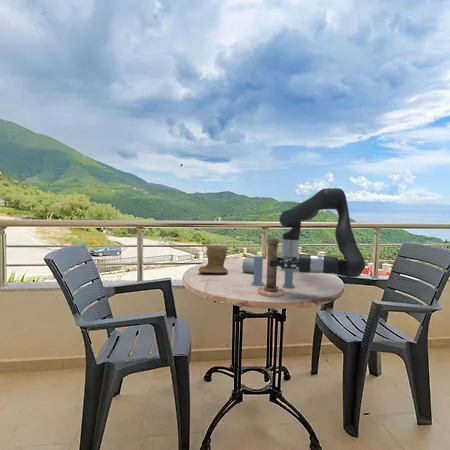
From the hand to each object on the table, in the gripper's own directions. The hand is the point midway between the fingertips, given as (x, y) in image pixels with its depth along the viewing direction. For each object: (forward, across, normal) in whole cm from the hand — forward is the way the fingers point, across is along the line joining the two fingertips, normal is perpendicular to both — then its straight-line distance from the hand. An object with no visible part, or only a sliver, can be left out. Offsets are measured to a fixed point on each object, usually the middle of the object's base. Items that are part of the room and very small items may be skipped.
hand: (271, 261), depth 135 cm
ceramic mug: (+13, -37, +14) cm, 42 cm away
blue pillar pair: (0, -13, +13) cm, 19 cm away
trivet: (0, 0, +13) cm, 13 cm away
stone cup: (+32, -29, +14) cm, 45 cm away
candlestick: (0, 0, +12) cm, 12 cm away
